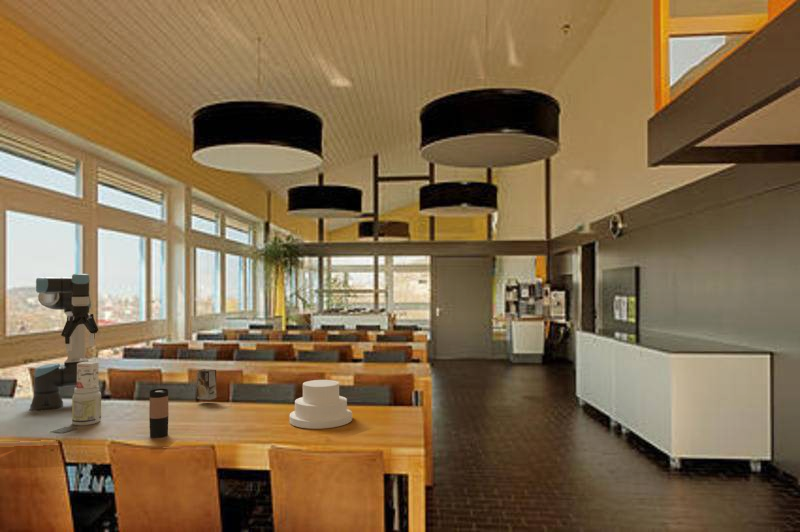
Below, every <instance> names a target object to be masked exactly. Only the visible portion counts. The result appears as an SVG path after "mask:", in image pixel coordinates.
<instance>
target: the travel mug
mask: <svg viewBox="0 0 800 532" xmlns="http://www.w3.org/2000/svg"><path fill="white" fill-rule="evenodd" d="M148 409H149V413H148V414H149V417H148V418H149V438H152V439H159V438H164V437H168V434H169V389H168V388H154V389H151V390H149V408H148Z"/></svg>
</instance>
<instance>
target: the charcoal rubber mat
mask: <svg viewBox="0 0 800 532" xmlns="http://www.w3.org/2000/svg"><path fill="white" fill-rule="evenodd" d="M75 430H78V427H73V426H63V427H60V428H57V429H53V430H51V431H49V433H50V432H54V433H53V434H61V433H62V434H65V433H69V432H73V431H75ZM62 434H61V435H62Z"/></svg>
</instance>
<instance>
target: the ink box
mask: <svg viewBox="0 0 800 532" xmlns="http://www.w3.org/2000/svg"><path fill="white" fill-rule="evenodd" d="M98 386H99V362H98V361H88V362H81V363H77V386H76V387H77V388H94V387H98Z"/></svg>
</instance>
